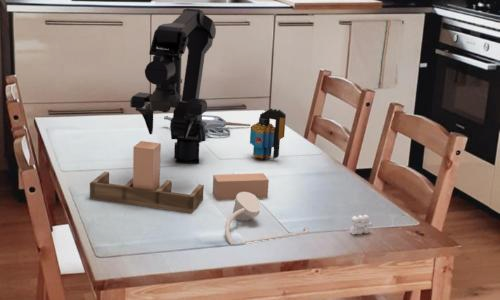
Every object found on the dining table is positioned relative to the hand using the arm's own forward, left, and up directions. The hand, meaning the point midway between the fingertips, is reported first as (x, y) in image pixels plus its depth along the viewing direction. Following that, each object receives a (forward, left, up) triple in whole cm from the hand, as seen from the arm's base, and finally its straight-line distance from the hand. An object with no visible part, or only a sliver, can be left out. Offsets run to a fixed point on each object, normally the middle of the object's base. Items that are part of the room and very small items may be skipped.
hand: (167, 136), depth 210 cm
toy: (-29, -21, -12) cm, 37 cm away
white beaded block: (-45, +32, -12) cm, 56 cm away
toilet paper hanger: (-21, +29, -13) cm, 38 cm away
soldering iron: (-13, -44, -13) cm, 48 cm away
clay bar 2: (-18, +10, -12) cm, 24 cm away
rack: (+5, +14, -12) cm, 19 cm away
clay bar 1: (+5, +14, -11) cm, 19 cm away
